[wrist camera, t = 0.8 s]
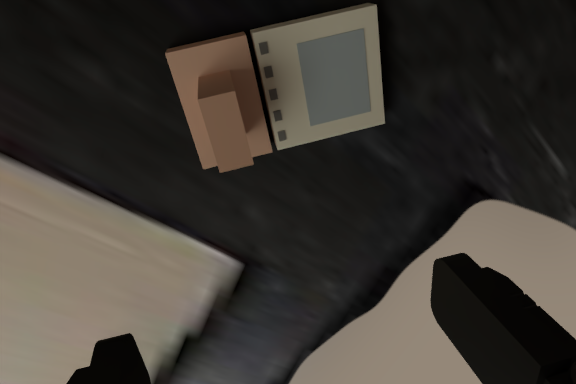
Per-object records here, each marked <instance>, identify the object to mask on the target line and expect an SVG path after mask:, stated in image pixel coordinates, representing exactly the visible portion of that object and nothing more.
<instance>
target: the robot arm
mask: <svg viewBox="0 0 576 384" xmlns="http://www.w3.org/2000/svg"><path fill="white" fill-rule="evenodd" d="M431 308H432V312H433V315H434V317H435V319H436V321H437V323H438V324H439V326H440V327H441V328H442V330H443V331H444V332H445V334H446V335H447V336H448V338H449V339H450V340H451V342H452V343H453V344H454V346H455V347H456V349H457V350H458V351H459V352H460V354H461V355H462V357H463V358H464V359H465V361H466V362H467V363H468V365H469V366H470V367H471V369H472V370H473V371H474V373H475V374H476V376H477V377H478V378H479V379H480V381H481V382H482V384H576V340H575V338H574V337H572V336H571V335H570V334H569V333H568V332H567V331H566V330H565V329H564V328H563V327H562V326H560V325H559V324H558V323H557V322H556V321H555V320H554V319H553V318H552V317H551V316H549V315H548V314H547V313H546V312H545V311H544V310H543V309H542V308H541V307H540V306H537V305H536V303H535V302H534V301H533V300H532V299H531V298H530V297H529V296H528V295H527V294H525V295H524V293H523V291H522V290H521V289H520V288H519V287H518V286H517V285H516V284H515V283H513V282H512V281H511V280H510V279H509V278H508V277H506V276H504V275H503V274H501V273H499V272H497V271H495V270H493V269H491V268H489V267H485V268H481V267H480V266H479V265H478V264H476V263H475V262H474V261H473V260H472V259H471V258H470V257H469V256H468V255H467V254H465V253H459V254H455V255H451V256H447V257H443V258H439V259H436V260H435V261H434V265H433V276H432V290H431ZM67 384H151V382H150V377H149V374H148V371H147V369H146V366H145V364H144V361H143V359H142V357H141V354H140V352H139V349H138V347H137V345H136V342H135V340H134V337H133V336H132V334H130V333H128V334H124V335H120V336H116V337H112V338H108V339H104V340H100V341H97V343H96V344H95V347H94V351H93V355H92V359H91V364H90V366H89V367H85V368H81V369H77V370H76V371H75V372H74V374H73V375H72V376H71V378H70V379H69V381H68V382H67Z"/></svg>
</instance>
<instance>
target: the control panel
mask: <svg viewBox="0 0 576 384" xmlns="http://www.w3.org/2000/svg"><path fill="white" fill-rule="evenodd" d="M250 33H251V38H252V42H253V47H254V51H255V56H256V60H257V65H258V69H259V74H260V79H261V83H262V88H263V92H264V97H265V101H266V106H267V110H268V115H269V119H270V124H271V128H272V133H273V137H274V142H275V145H276V147H277V150H281V149H285V148H289V147H293V146H297V145H301V144H305V143H309V142H313V141H317V140H321V139H325V138H329V137H333V136H337V135H341V134H345V133H349V132H353V131H357V130H361V129H365V128H369V127H373V126H377V125H381V124H385V118H384V104H383V89H382V75H381V60H380V46H379V31H378V17H377V5H376V4H372V3H365V4H361V5H356V6H352V7H348V8H343V9H339V10H335V11H330V12H326V13H321V14H317V15H313V16H308V17H304V18H300V19H295V20H291V21H287V22H282V23H278V24H273V25H269V26H265V27H260V28H256V29H252V30H250Z"/></svg>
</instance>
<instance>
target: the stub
mask: <svg viewBox="0 0 576 384" xmlns="http://www.w3.org/2000/svg"><path fill="white" fill-rule="evenodd" d="M165 55H166V58H167V61H168V64H169V67H170V70H171V73H172V76H173V79H174V82H175V85H176V88H177V91H178V94H179V97H180V100H181V103H182V106H183V109H184V112H185V115H186V118H187V121H188V124H189V127H190V130H191V134H192V137H193V140H194V143H195V146H196V149H197V152H198V155H199V158H200V161H201V164H202V167H203V169H207V168H211V167H215V166H218V168H219V171H220V173H222V172H226V171H230V170H234V169H238V168H242V167H246V166H250V165H254V163H253V159H252V157H255V156H259V155H263V154H267V153H271V152H272V148H271V143H270V139H269V134H268V130H267V126H266V121H265V117H264V112H263V108H262V103H261V99H260V95H259V90H258V86H257V81H256V77H255V73H254V68H253V64H252V59H251V55H250V50H249V46H248V42H247V37H246V34H245V33H244V32H240V33H235V34H231V35H226V36H222V37H218V38H213V39H209V40H205V41H200V42H196V43H191V44H187V45H183V46H178V47H174V48H170V49H167V50H166V53H165Z"/></svg>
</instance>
